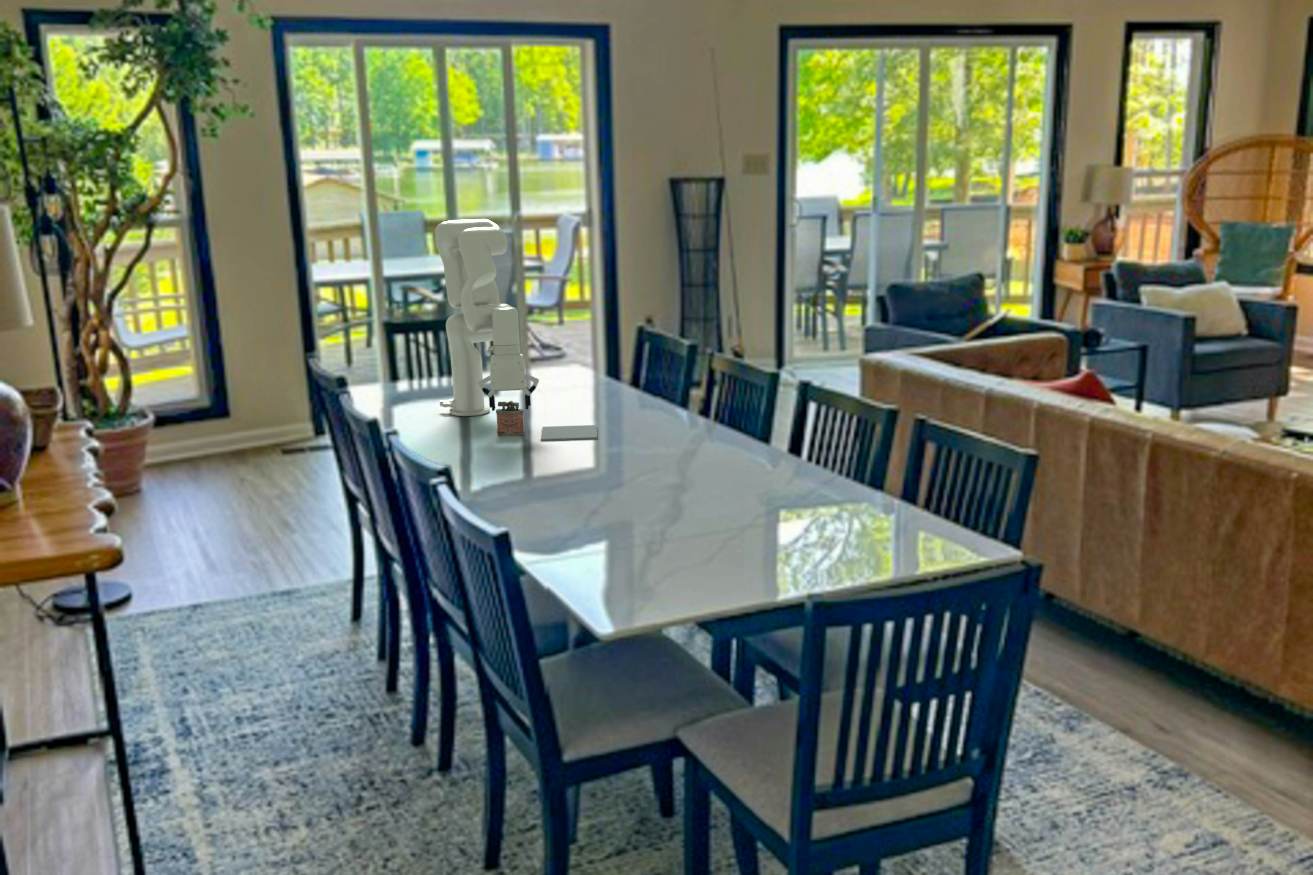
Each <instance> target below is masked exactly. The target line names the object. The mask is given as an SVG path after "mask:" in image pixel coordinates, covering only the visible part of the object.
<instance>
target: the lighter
mask: <svg viewBox="0 0 1313 875" xmlns="http://www.w3.org/2000/svg"><path fill="white" fill-rule="evenodd" d="M497 406H498V407H502V408H498V409H495V413H496V427H497V428H496V429H497V432H496V435H497V437H523V436H525V429H524V408H523V409H522V408H520V402H514V401H513V400H509V401H508V402H507V401H498V402H497Z"/></svg>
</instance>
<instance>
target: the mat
mask: <svg viewBox="0 0 1313 875" xmlns="http://www.w3.org/2000/svg"><path fill="white" fill-rule="evenodd" d="M597 427H598V426H597V424H590V425H589V424H588V425H586V424H585V425H583V424H582V425H562V426H561V425H557V426H555V425H554V426H542V427H541V428H542V429H541V435H540V442H548V441H549V442H551V441H552V442H553V441H554V442H555V441H558V442H559V441H579V440H580V441H581V440H582V441H583V440H584V441H585V440H597V439H598V429H597Z"/></svg>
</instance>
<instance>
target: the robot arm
mask: <svg viewBox="0 0 1313 875" xmlns="http://www.w3.org/2000/svg"><path fill="white" fill-rule="evenodd" d="M434 239H435V246H436V249H437V252H438V254H439V256H440V258H441V261H442V265H443V271H444V281H445V287H446V288H445V289H446V296H447V301H448V304H449V306H451V308H454V309H461V311H462V312H459V313H454V314H451V315H450V316H448V318H447V319H446V322H445V331H446V334H447V339H448V345H449V351H450V352H449V353H450V363H451V364H450V365H451V378H452V392H453V397H452V398H451V399H449V400H439V407H443V408H450V409H449V410H448V412H449V414H450V415H452V416H458V417H474V416H475V417H476V416H481V415H486V414H488V413H490V408H491V411H492V412H494V411H496V398H495V392H505V391H507V392H508V391H509V392H510V391H522V392H523V393H524V394H525V395H524V404H525V410H529V407H531V404H532V403H531V395H532V393H533V392H535V390H536V389H537V387H538V384H539V383H540V379H539V378H537V377H535V376H533V375H531V374H528V373H527V371H526V364H525V359H524V355H523V353H521V344H520V343H521V342H520V329H519V312H518V309H517V308H516V307H514V306H511V305H510V304H508V303H501V302H500V293H499V288H498V287H499V286H498V285H497V282H496V281H495V278H496V277H497V273H498V272H497V268H496V265H495V262H494V259H493V256H499V255H500V256H502V255H503V254H505V253H506V252H507V249H508V238H507V235H506V234H505V231H504V230H503V229H502V228H501V226H499V225H498V224H497V223H495V222H493V221H491V220H489V219H487V218H480V219H479V218H476V219H475V218H474V219H473V218H472V219H452V220H447V221H442V222H440V223H438V224H437V226H436V227H435V230H434ZM482 342H483V343H484V342H492V346H489V347H488V348H487V350H488V351H487V352H489V353H493V354H492V355H491V356H490V363H489V366H490V367H489V368H490V369H489V375H488V376H486V377H484V376H483V375H484V374H483V359H482V354H481V353H480V352H479V350H478V349H477V348H476V347H475V346H474V344H476V343H482ZM527 380H528V381H530V382H532V385H531V387H528V386H527V382H528V381H527ZM488 382H490V388H491V389H488V387H486V385H485V384H486V383H488ZM485 395H486V396H487V397H488V405H489V406H488V405H485Z"/></svg>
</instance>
